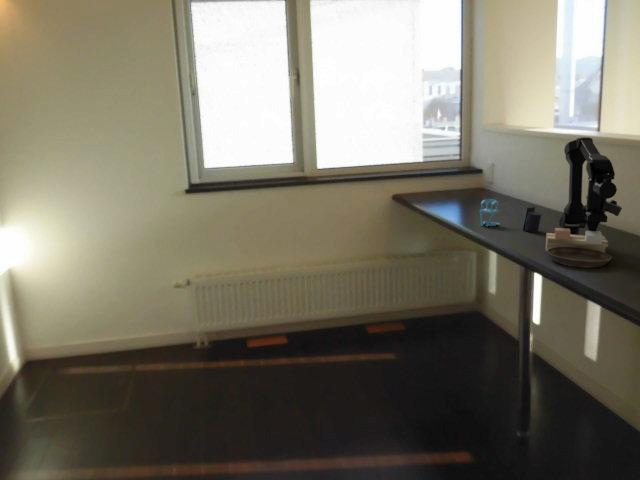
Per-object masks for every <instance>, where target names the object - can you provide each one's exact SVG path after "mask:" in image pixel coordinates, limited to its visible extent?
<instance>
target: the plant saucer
mask: <svg viewBox="0 0 640 480" xmlns="http://www.w3.org/2000/svg"><path fill="white" fill-rule="evenodd" d="M546 253H547V254H548V255H549V258H551V259H552V260H553V261H554V262H555V263H558V264H560V265H563V266H567V265H568V266H569V267H573V266H574V267H575V268H584V269H585V268H588V269H589V268H593V269H594V268H599V267H602V266H605V265H606V264H608V262H609V261H610V260H611V259H612V255H610V254H608V253H606V252H605V253H604V252H600V251H596V250H591V249H585V248H575V247H556V248H551V249H548V250H547V252H546Z"/></svg>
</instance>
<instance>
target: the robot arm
mask: <svg viewBox="0 0 640 480" xmlns="http://www.w3.org/2000/svg"><path fill="white" fill-rule="evenodd" d="M563 152H564V155H565V160H566V162H567V163H568V165H569V178H568V183H569V184H568V202H567V204H566V205H565V207H564V209H563V213H562V214H561V217H560V218H559V222H558V223H559V228H567V229H570V231H571V232H570V234H573V235H580V229H585V228H586V227H587V229H588V230H587V231H598V227H599V225H600V224H601V223H608V216H607V214H606V213H609V214H612V215H614V216H616V217H619V216H620V214H621V211H622V210H623V207H622V206H620V205H619V204H618V202H617V201H616V200H614V199H611V198H613V197H615V195H616V194H617V190H618V189H617V186H616V184H615V183H614V182H612V181H613V180H615V176H616V173H615V169H614V166H613V163H612V161H611V159H609V158H608V157H607V156H606V155H603V154H602V153H600V151H599V150H598V148H597V147H596V145H595V143H594V141H593V138H592V137H590V136H589V137H586V136H585V137H578V138H576V139H574V140H572V141H568V143H566V144H565V146H564V151H563ZM585 163H586V166H585V167H586V168H585V169H586V173H587V175H588V179H587V180H588V185H587V195H586V198H585V199H586V204H583V202H582V199H583V197H582V196H583V195H582V194H583V169H584V164H585ZM608 199H611V200H610V201H609V200H608ZM607 200H608V201H607Z"/></svg>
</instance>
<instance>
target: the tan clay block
mask: <svg viewBox="0 0 640 480" xmlns="http://www.w3.org/2000/svg"><path fill="white" fill-rule="evenodd" d="M570 232H571V231H570V229H567V228H562V227H554V236H555V239H570Z"/></svg>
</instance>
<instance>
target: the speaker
mask: <svg viewBox="0 0 640 480" xmlns="http://www.w3.org/2000/svg"><path fill="white" fill-rule="evenodd" d="M541 219H542V213H541V212H539V211H536V206H532V207H527V208H526V214H525V218H524V223H523V228H522V231H523V232H524V231H526V232H529V233H538V232H539V228H540V223H541Z"/></svg>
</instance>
